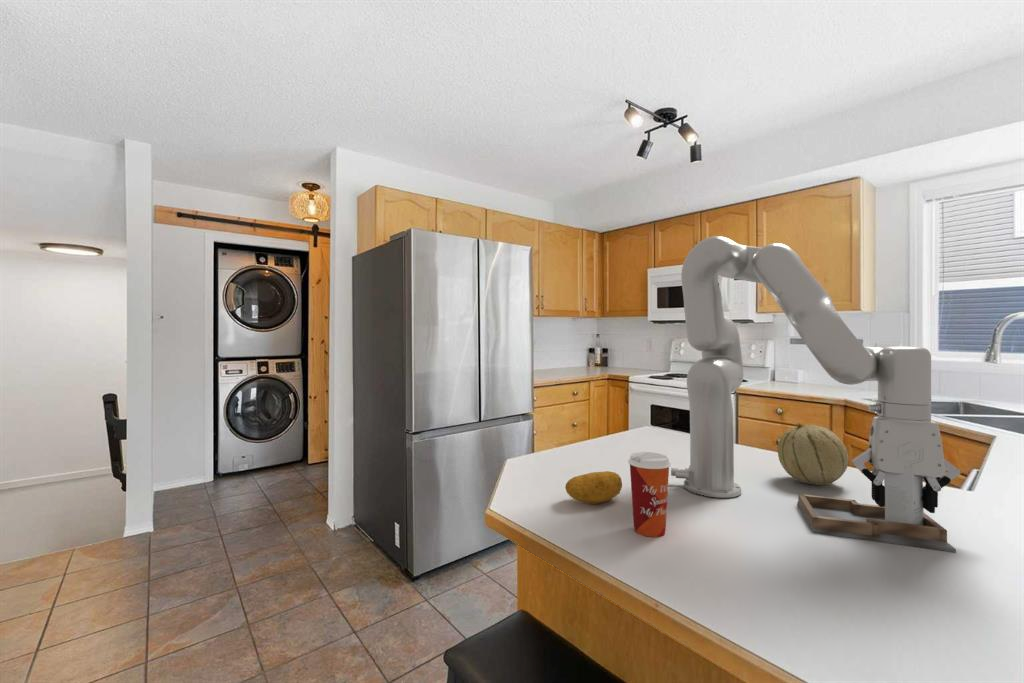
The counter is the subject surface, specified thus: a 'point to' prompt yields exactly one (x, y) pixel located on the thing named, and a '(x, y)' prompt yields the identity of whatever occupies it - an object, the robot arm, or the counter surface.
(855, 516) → the angular wooden tray
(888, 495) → the skincare box
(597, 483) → the potato
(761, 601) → the counter surface
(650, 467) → the paper cup
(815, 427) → the cantaloupe
